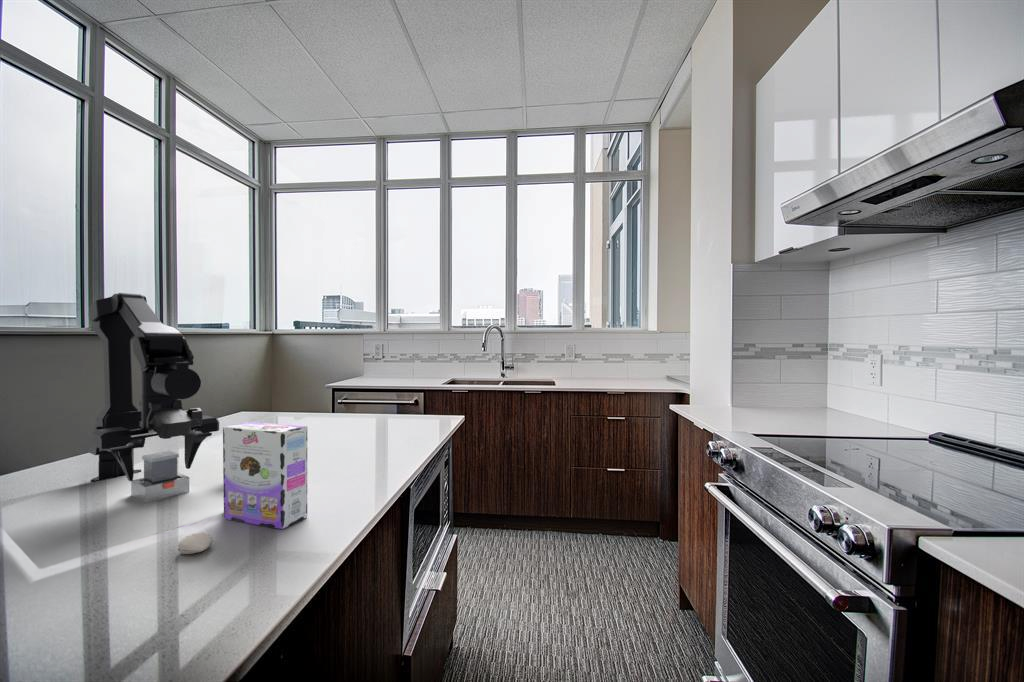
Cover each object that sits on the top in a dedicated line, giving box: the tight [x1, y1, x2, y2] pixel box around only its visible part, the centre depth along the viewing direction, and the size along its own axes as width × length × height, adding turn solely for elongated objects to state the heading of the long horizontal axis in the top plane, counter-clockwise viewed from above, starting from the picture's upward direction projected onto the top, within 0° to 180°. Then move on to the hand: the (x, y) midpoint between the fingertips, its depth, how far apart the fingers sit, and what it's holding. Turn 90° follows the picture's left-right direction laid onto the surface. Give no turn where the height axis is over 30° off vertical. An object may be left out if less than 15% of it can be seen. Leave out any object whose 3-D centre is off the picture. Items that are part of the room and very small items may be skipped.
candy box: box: [222, 421, 308, 530], centre depth 77 cm, size 14×6×16 cm, turn 71°
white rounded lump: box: [177, 532, 214, 555], centre depth 65 cm, size 4×5×2 cm
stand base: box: [130, 471, 190, 504], centre depth 85 cm, size 12×12×4 cm
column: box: [141, 450, 180, 485], centre depth 85 cm, size 5×5×8 cm
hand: (160, 474), depth 85 cm, fingers open, 9 cm apart
